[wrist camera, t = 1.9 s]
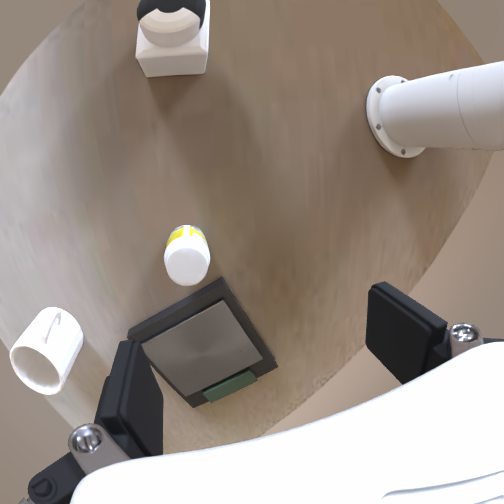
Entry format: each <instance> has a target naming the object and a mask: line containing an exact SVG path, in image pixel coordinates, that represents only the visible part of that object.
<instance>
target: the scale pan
mask: <svg viewBox="0 0 504 504" xmlns="http://www.w3.org/2000/svg"><path fill="white" fill-rule="evenodd" d="M140 343H141V345H142V347H143V350H144V352H145V354H146V355H147V356H148V358H149V359H150V360H151V361H152V362H153V363H154V364H155V365H156V366H157V368H158V369H159V370H160V371H161V372H162V373H163V374H164V375H165V376H166V377H167V378H168V379H169V380H170V381H171V382H172V383H173V384H174V386H175V387H176V388H177V389H178V390H179V391H180V392H181V393H182V394H183V395H184V396H185V397H186V396H188V395H191V394H193V393H195V392H197V391H200V390H202V389H204V388H206V387H208V386H210V385H212V384H214V383H217V382H219V381H221V380H223V379H225V378H227V377H229V376H231V375H233V374H235V373H237V372H239V371H241V370H243V369H245V368H247V367H249V366H250V365H252V364H254V363H256V362H258V361H260V360H262V359H263V357H262V355H261V353H260V352H259V350H258V349H257V348H256V346H255V345H254V343H253V342H252V340H251V339H250V337H249V336H248V334H247V333H246V331H245V330H244V328H243V327H242V325H241V324H240V322H239V321H238V319H237V318H236V316H235V315H234V313H233V312H232V310H231V309H230V307H229V306H228V304H227V303H226V301H225V300H224V298H221V299H219V300H217V301H215V302H214V303H212V304H210V305H208V306H206V307H205V308H203V309H201V310H199V311H197V312H195V313H194V314H192V315H190V316H188V317H186V318H185V319H183V320H181V321H179V322H177V323H175V324H174V325H172V326H170V327H168V328H166V329H164V330H162V331H161V332H159V333H157V334H155V335H153V336H151V337H149V338H148V339H146V340H144V341H142V342H140Z"/></svg>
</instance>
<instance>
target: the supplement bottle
mask: <svg viewBox="0 0 504 504" xmlns="http://www.w3.org/2000/svg"><path fill="white" fill-rule="evenodd" d="M164 263H165V266H166V269H167V273H168V275H169V277H170V278H171V279H172V280H173V281H174V282H175V283H177V284H179V285H182V286H192V285H195V284H197V283H199V282H200V281H201V280H202V279H203V278H204V277H205V275H206V273H207V270H208V266H209V263H210V253H209V249H208V245H207V241H206V238H205V236H204V234H203V233H202V231H201V230H200V229H198V228H196V227H194V226H191V225H184V226H180V227H178V228H176V229H175V230H174V231H173V232H172V233H171V234H170V236H169V238H168V242H167V246H166V250H165V254H164Z"/></svg>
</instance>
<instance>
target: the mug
mask: <svg viewBox="0 0 504 504" xmlns="http://www.w3.org/2000/svg"><path fill="white" fill-rule="evenodd" d="M82 345H83V333H82V330H81V327H80V326H79V324H78V323H77V321H76V320H75V319H74V318H73V317H72V316H71V315H70V314H69V313H67V312H66V311H64V310H62V309H59V308H55V307H52V308H46V309H44V310H42V311H41V312H40V313H39V315H38V316H37V317H36V318H35V319H34V321H33V322H32V323H31V324H30V325H29V327H28V328H27V329H26V330H25V332H24V333H23V334H22V336H21V337H20V338H19V339H18V341H17V342H16V343H15V345H14V346H13V347H12V349H11V351H10V360H11V364H12V367H13V369H14V370H15V373H16V374H17V376H18V377H19V378H20V379H21V381H23V382H24V383H25V384H26V385H27V386H28V387H30V388H31V389H33V390H35V391H36V392H39V393H42V394H46V395H54V394H58V393H59V392H60V391H61V390H62V389H63V387H64V385H65V382H66V380H67V378H68V375H69V373H70V371H71V369H72V367H73V364H74V362H75V360H76V358H77V356H78V354H79V352H80V350H81V347H82Z"/></svg>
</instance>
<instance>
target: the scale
mask: <svg viewBox="0 0 504 504" xmlns="http://www.w3.org/2000/svg"><path fill="white" fill-rule="evenodd" d="M221 298H224V300H225V301H226V303H227V304H228V306H229V307H230V309H231V310H232V312H233V313H234V315H235V316H236V318H237V319H238V321H239V322H240V324H241V325H242V327H243V328H244V330H245V331H246V333H247V334H248V336H249V337H250V339H251V340H252V342H253V343H254V345H255V346H256V348H257V349H258V350H259V352H260V353H261V355H262V357H263V359H262V360H260V361H258V362H256V363H254V364H252V365H250V366H249V367H247V368H245V369H243V370H241V371H239V372H237V373H235V374H233V375H231V376H229V377H227V378H225V379H223V380H221V381H219V382H217V383H214V384H212V385H210V386H208V387H206V388H204V389H202V390H200V391H197V392H195V393H193V394H191V395H188V396H186V397H185V396H184V395H183V394H182V393H181V392H180V391H179V390H178V389H177V388H176V387H175V386H174V384H173V383H172V382H171V381H170V380H169V379H168V378H167V377H166V376H165V375H164V374H163V373H162V372H161V371H160V370H159V369H158V368H157V366H156V365H155V364H154V363H153V362H152V361H151V360H150V359H149V358H148V356H147V355H146V354H145V355H146V357H147V360H148V362H149V363H150V365H151V366H152V367H153V368H154V369H155V370H156V371H157V372H158V373H159V374H160V375H161V376H162V377H163V379H164V380H165V381H166V382H167V383H168V384H169V385H170V386H171V387H172V388H173V389H174V390H175V391H176V392H177V393H178V394H179V395H180V396H181V397H182V398H183V399H184V400H185V401H186V402H187V403H188V404H189V405H191V406H192V407H193V408H195V407H197V406H199V405H201V404H204V403H206V402H208V401H210V402H211V403H212V402H214V401H216V400H218V399H220V398H223V397H225V396H227V395H229V394H231V393H233V392H235V391H237V390H239V389H242V388H244V387H246V386H248V385H250V384H252V383H254V382H256V381H257V378H258V377H260V376H262V375H264V374H266V373H268V372H270V371H271V370H273V369H275V368H277V367H278V365H277V363H276V361H275V359H274V357H273V356H272V354H271V353H270V351H269V350H268V348H267V347H266V345H265V344H264V342H263V341H262V339H261V338H260V336H259V335H258V333H257V332H256V330H255V328H254V327H253V325H252V324H251V322H250V321H249V319H248V318H247V316H246V314H245V313H244V311H243V310H242V308H241V307H240V305H239V304H238V302H237V300H236V299H235V297H234V296H233V294H232V292H231V291H230V289H229V288H228V286H227V284H226V283H225V281H224V280H223V278H220V279H218V280H217V281H215V282H213V283H211V284H210V285H208V286H206V287H204V288H203V289H201V290H199V291H197V292H195V293H194V294H192V295H190V296H188V297H187V298H185V299H183V300H181V301H179V302H178V303H176V304H174V305H172V306H171V307H169V308H167V309H165V310H163V311H162V312H160V313H158V314H156V315H155V316H153V317H151V318H149V319H147V320H146V321H144V322H142V323H140V324H138V325H137V326H135V327H133V328H131V329H130V330H129V332H128V335H127V338H128V339H129V340H132V339H134V340H135V341H136V343H138V342H142V341H144V340H146V339H148V338H149V337H151V336H153V335H155V334H157V333H159V332H161V331H162V330H164V329H166V328H168V327H170V326H172V325H174V324H175V323H177V322H179V321H181V320H183V319H185V318H186V317H188V316H190V315H192V314H194V313H195V312H197V311H199V310H201V309H203V308H205V307H206V306H208V305H210V304H212V303H214V302H215V301H217V300H219V299H221Z"/></svg>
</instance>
